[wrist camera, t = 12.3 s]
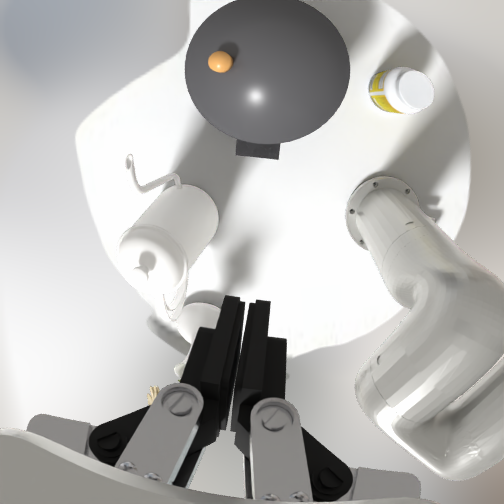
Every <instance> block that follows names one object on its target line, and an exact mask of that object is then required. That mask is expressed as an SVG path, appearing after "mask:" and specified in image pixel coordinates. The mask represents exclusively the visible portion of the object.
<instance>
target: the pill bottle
mask: <svg viewBox="0 0 504 504" xmlns="http://www.w3.org/2000/svg"><path fill="white" fill-rule="evenodd" d="M368 92H369V96H370V99H371V101H372V102H373V103H374V105H375V106H377V107H378V108H379V109H381V110H383V111H386V112H394V113H402V114H415V113H418V112H420V111H421V110H423V109H425V108H427V107H428V106H430V105H431V103H432V101H433V99H434V87H433V84H432V82H431V81H430V79H429V78H428V77H427V76H426V75H425V74H424V73H422V72H420V71H416V70H414V69H412V68H409V67H397V68H393V69H390V70H386V71H383V72H380V73H378V74H376V75H374V76H373V77H372V79H371V80H370V82H369V86H368Z"/></svg>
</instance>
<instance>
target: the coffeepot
mask: <svg viewBox="0 0 504 504" xmlns="http://www.w3.org/2000/svg"><path fill="white" fill-rule="evenodd" d="M125 165H126V171H127V176H128V181H129V184H130V186H131V188H132V190H133V191H134V192H135V193H137V194H144V193H146V192H149V191H150V190H152V189H154V188H156V187H158V186H160V185H162V184H164V183H166V182H168V181H170V180H172V179H174V181H175V185H174V186H172V187H169V188H167V189H166V190H165V191H163V192H162V193H161V194H160V195H159V196H158V197H157V199H156V200H155V201H154V202H153V203H152V204H151V205H150V206H149V208H148V209H147V210H146V211H145V212H144V213H143V214H142V216H141V217H140V218H139V219H138V220H137V221H136V223H135V224H134V225H133V226H132V227H131V228H129V229H128V230H127V231H125V232H124V233H123V235H122V236H121V238H120V240H119V242H118V245H117V259H118V265H119V268H120V271H121V273H122V275H123V276H124V278H125V279H126V280H127V281H128V282H129V283H130V284H131V285H132V286H133V287H135V288H136V289H138V290H140V291H142V292H144V293H148V294H155V300H156V305H157V309H158V312H159V314H160V316H161V318H162V319H163V320H167V321H176V320H177V319H178V317H179V316H180V314H181V312H182V309H183V306H184V302H185V297H186V292H187V285H188V275H189V270H190V268H191V267H192V266H193V264H194V263H195V261H196V260H197V259H198V257H199V256H200V254H201V253H202V252H203V250H204V249H205V247H206V246H207V245H208V243H209V242H210V241H211V239H212V238H213V236H214V235H215V233H216V231H217V228H218V223H219V216H218V211H217V208H216V205H215V203H214V201H213V200H212V199H211V197H210V196H209V195H208V194H207V193H206V192H205V191H203V190H202V189H200V188H198V187H196V186H192V185H188V184H181V180H180V178H179V176H178V175H177V174H175V173H171V174H168V175H166V176H163V177H161V178H159V179H157V180H155V181H152V182H150V183H148V184H146V185H144V186H140V185H139V184H138V182H137V179H136V175H135V169H134V162H133V155H132V154H129V155H128V156H127V158H126V162H125ZM177 288H178V289H177ZM176 289H177V293H176V295H175V298H174V300H173V302H172V303H171V305H170V306H169V307H168V306H167V305H166V303H165V300H164V294H165V293H169V292H172V291H174V290H176ZM166 310H170V311H173V310H174V312H173V314H172V315H171V316H170V317H169V316H168V313H167V311H166Z"/></svg>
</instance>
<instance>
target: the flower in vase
mask: <svg viewBox="0 0 504 504" xmlns="http://www.w3.org/2000/svg"><path fill="white" fill-rule="evenodd" d="M220 311H221V309H220V308H218V307H216V306H214V305H211V304H208V303H201V302H197V303H192V304H188V305H186V306H184V307H183V309H182V312H181V314H180V316H179V317H178V319H177V320H176V323H177V328H178V330H179V332H180V334H181V335H182V336H183V337H184V338H185V339H186V340H187V341H188V342H189V343H191V348H192V346H193V343H194V340H195V337H196V334H197V332H198V329H199V327H200V326H201V327H207V328H213V329H215V328H216V324H217V321H218V318H219V314H220ZM191 348H190V350H189V353H188V355H187V357H186V358H185V360H184V361H183V362H182V363H179V364H177V365H176V366H175V367H174V371H175V373H176V375H177V376H178V377H180V378H181V377H182V374H183V371H184V368H185V366H186V363H187V360H188V357H189V354H190V351H191ZM178 381H179V382H180V380H178ZM150 392H151V396H152V397H151V396H150V395H149V394H147V398H148V404H149V405H151V404H152V403H153V401H154V399H155V398H156V396H157V394H158V393H159V392H160V391H159V388H158V386H157V388H156V386H154V387H151V386H150Z"/></svg>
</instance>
